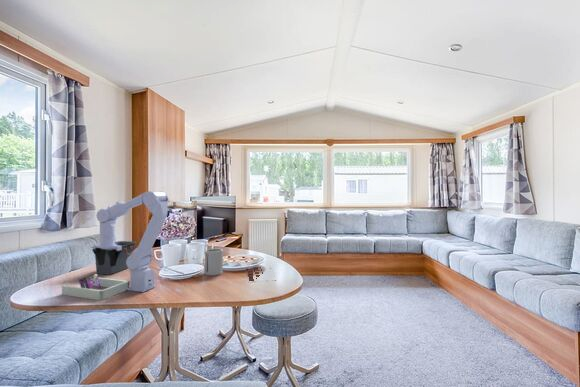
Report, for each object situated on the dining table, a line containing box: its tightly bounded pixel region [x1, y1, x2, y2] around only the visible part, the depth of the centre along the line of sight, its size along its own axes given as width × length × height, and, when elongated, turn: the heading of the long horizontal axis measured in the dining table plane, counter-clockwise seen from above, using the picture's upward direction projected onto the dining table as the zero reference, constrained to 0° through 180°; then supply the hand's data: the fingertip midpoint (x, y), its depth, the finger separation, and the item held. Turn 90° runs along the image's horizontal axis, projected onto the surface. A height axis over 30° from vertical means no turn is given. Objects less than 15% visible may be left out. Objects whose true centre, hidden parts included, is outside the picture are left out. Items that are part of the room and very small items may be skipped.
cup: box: [204, 248, 224, 276], centre depth 158 cm, size 9×9×12 cm
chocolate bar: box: [246, 266, 263, 281], centre depth 157 cm, size 27×14×1 cm, turn 10°
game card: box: [78, 273, 102, 290], centre depth 129 cm, size 7×5×9 cm
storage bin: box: [91, 240, 137, 275], centre depth 161 cm, size 21×16×14 cm
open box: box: [61, 276, 130, 301], centre depth 128 cm, size 21×14×4 cm, turn 73°
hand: (107, 265), depth 135 cm, fingers open, 6 cm apart
